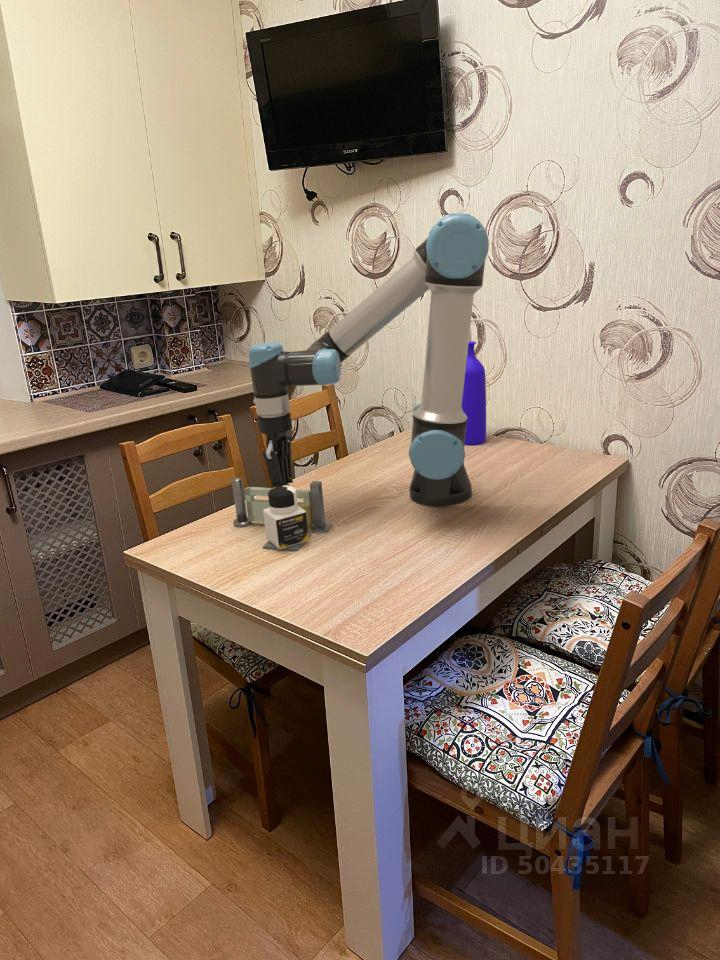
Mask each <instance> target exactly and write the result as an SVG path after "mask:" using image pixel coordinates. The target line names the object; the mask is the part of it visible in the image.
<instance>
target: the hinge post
mask: <svg viewBox="0 0 720 960" xmlns="http://www.w3.org/2000/svg"><path fill="white" fill-rule="evenodd" d="M243 481H244V480H243V478H242V477H240V476H239V477H233V478H232V479H231V485H232V491H233V492H232V493H233V499H234V507H235V514H236V519H234V520H233V522H232V523H233V526H234V527H235V528H236V527H238V528H243V527H248V526H251V525H252V524H253V521H248V513H247V506H246V498H245V491H244V489H245V488H244V482H243Z"/></svg>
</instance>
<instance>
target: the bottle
mask: <svg viewBox="0 0 720 960" xmlns="http://www.w3.org/2000/svg"><path fill="white" fill-rule="evenodd" d="M476 344H477V341H473V340H471V341H469V343H468V352H467V361H466V370H465V379H464V388H463V397H462V410H463V412H464V413H465V414H466V415H467V426H466V435H465V444H464V446H479V445H483V444H485V443H486V441H487V440H486V439H487V387H486V386H487V385H486V383H487V382H486V381H487V380H486V370H485V367H484V365H483V364H482V362H481V361H480V360H479V359H478V358H477V357H476V353H475V345H476Z"/></svg>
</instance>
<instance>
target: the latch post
mask: <svg viewBox="0 0 720 960" xmlns="http://www.w3.org/2000/svg"><path fill="white" fill-rule="evenodd" d="M309 490H310V492H311V502H312V512H313V522H314V524H312V514H311V505H300V506H299V507H300V508H302V509H303V510H305V511H306V516H307V526H308V533H319V534H326V533H327V532H328V531H329V530H330V529H331V528H332V527H333V522H326V515H325V504H324V493H323V492H324V491H323V484H322V481H321V480H320V481H318V480H316V481H315V480H313V481H311V482H310V483H309Z"/></svg>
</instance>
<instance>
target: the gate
mask: <svg viewBox="0 0 720 960" xmlns="http://www.w3.org/2000/svg"><path fill="white" fill-rule="evenodd" d="M273 488H274V487H262V486H261V487H260V486H259V487H258V486H245V488H243V489H244V496H245V504H246V511H247V517H248V521H252V522H255V523H256V522H258V523H264V515H263V510H264V509H267V508H270V506H269V499H257V498H255V496H259V497H268V492H269V491H270V490H271V489H273ZM296 492H297V499H301V500H302V499H303V502H302V501H298V506H300V505H311V514H312V524H314V522H313V512H312V502H311V492H310V489H296Z"/></svg>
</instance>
